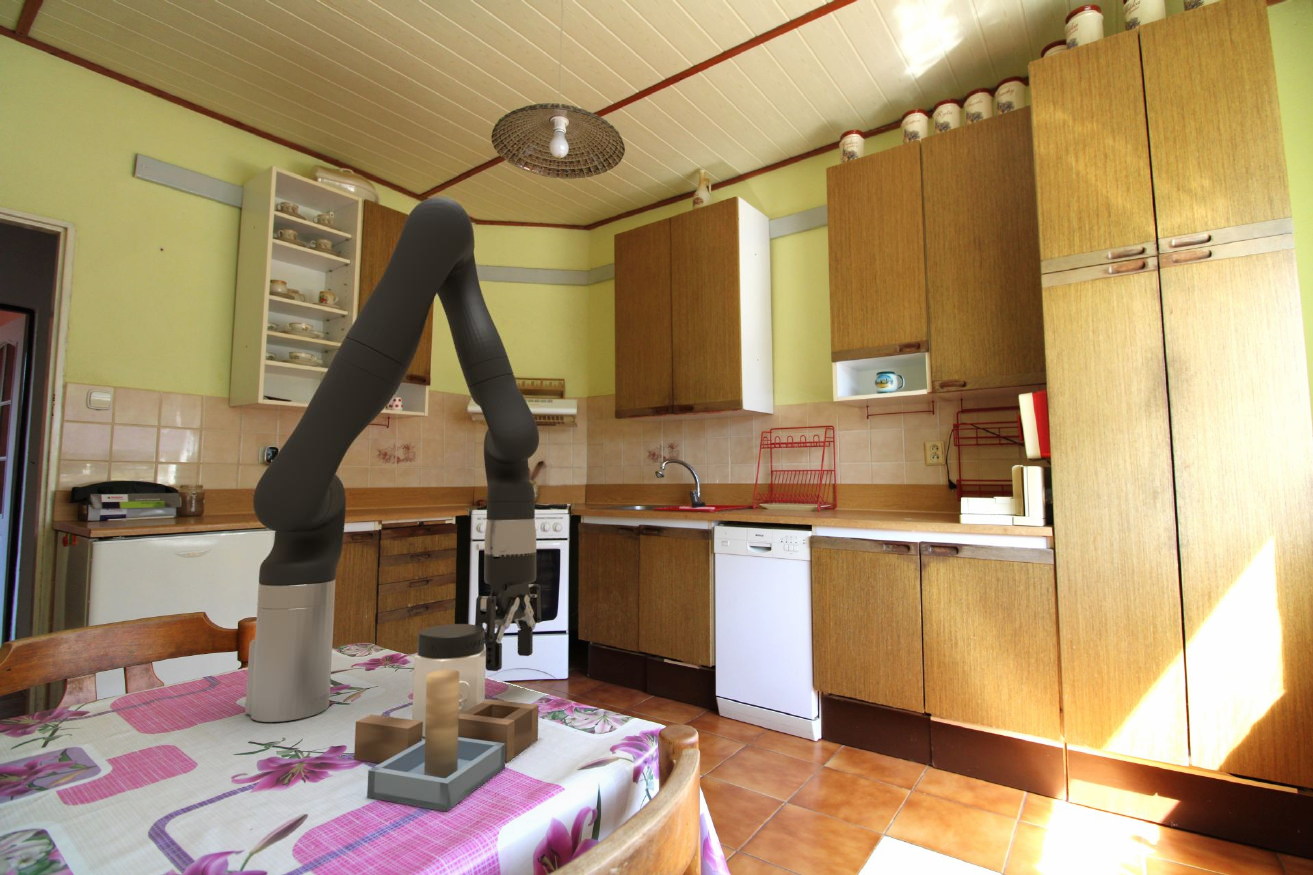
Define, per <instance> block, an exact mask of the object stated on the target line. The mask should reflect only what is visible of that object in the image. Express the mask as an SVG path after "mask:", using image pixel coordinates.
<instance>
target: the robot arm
mask: <svg viewBox="0 0 1313 875" xmlns="http://www.w3.org/2000/svg"><path fill="white" fill-rule="evenodd" d="M469 216H470V215H468V213H467V211H466V210H465V209H464V207H463V206H462V205H461V204H459V203H458V202H457V201H456V200H454V199H452V198H449V197H446V196H445V197H444V196H433V197H430V198H427V199H424V200H422V201H421V202H419V203H418V204H416V205H415V206H414V207H413V208H412V210H411V211H410V212H409V214H408V216H407V218H406V220H405V223H404V225H403V228H402V231H401V233H400V235H399V238H398V241H397V243H396V245H395V248H394V250H393V253H392V255H391V258H390V259H389V262H388V264H387V267H386V268H385V270H384V272H383V274H382V276H381V277H380V280H379V281H378V283H377V285H376V286H375V287H374V288H373V291H371V294H370V295H369V296H368V298H367V300H366V301H365V303H364V305H363V306H362V308H361V310H360V311H359V313H358V315H357V316H356V318H355V320H354V321H353V324H352V325H351V327H350V328H349V330H348V331H347V333H346V335H345V337H344V339H343V341H342V342H341V344H340V345H339V348H338V349H337V350H336V353H335V355H334V357H333V358H332V360H331V362H330V364H329V366H328V369H327V370H326V372H325V374H324V376H323V378H322V379H321V382H320V383H319V385H318V387H317V389H316V391H315V392H314V394H313V396H312V398H311V400H310V401H309V403H308V406H306V409H305V411H304V413H303V415H302V417H301V418H300V420H299V422H298V423H297V425H296V426H295V428H294V430H293V431H292V433H291V434H290V436H289V437H288V439H287V440H286V442H285V443H284V444H283V446H282V447H281V448H280V450H278V453H277V454H276V455H275V457H274V458H273V459H272V461H271V463H270V464H269V465H268V467H267V468H266V470H265V471H264V472H263V474H262V475H261V477H260V479H258V482H257V484H256V487H255V489H254V493H253V498H252V505H253V511H254V514H255V517H256V518H257V520H258V521H259V523H261V524H262V525H263V526H264V527H265V528H267V529H268V530H271V531H275V535H274V542H273V545H272V547H271V550H270V552H269V553H268V555H267V556H266V557H265V559H263V561H262V562H261V563H260V567H259V572H258V591H257V603H256V605H257V608H256V609H257V610H256V621H255V622H256V623H255V625H256V626H255V638H254V639H251V641H250V642H249V645H248V661H247V662H248V663H247V678H246V679H247V680H246V693H245V695H246V697H245V712H244V714H245V715H249V716H250V718H251V719H252V720H254V721H256V722H263V723H264V722H265V723H266V722H267V723H273V722H274V723H275V722H276V723H278V722H287V721H288V722H289V721H294V720H300V719H304V718H307V717H311V716H314V715H317V714H321V713H322V712H325V711H326V710H327V709H328V708H329V706H330V697H331V696H330V695H331V694H330V693H331V675H332V657H333V639H334V638H333V637H334V636H333V635H334V619H335V616H334V615H335V600H336V599H335V594H336V575H337V567H338V564H339V562H340V560H341V557H342V553H343V547H344V534H345V524H346V523H345V521H346V511H347V510H346V509H347V508H346V507H347V503H346V502H347V498H346V490H345V487H344V484H343V482H342V480H341V479H340V477H339V476H338V475H337V472H338V469H339V468H340V465H341V464H342V462H343V459H344V458H345V455H346V454H347V453H348V450H349V449H350V447H351V445H352V444H353V443H354V442H355V441H356V439H357V438H358V437H359V436H360V434H362V433H363V431H364V430H365V429H367V427H368V426H369V425H370V424H372V422H373V421H374V420H375V419H376V418H377V417H378V416H379V415H380V413H382V411H383V410H384V409H386V407H387V406H388V405H389V403H390V402H391V400H392V399H393V397H394V396H395V394H396V393H397V392H398V390H399V387H400V386H401V384H402V382H403V380H404V378H405V376H406V374H407V372H408V371H409V368H410V367H411V366H412V363H413V361H414V358H415V356H416V353H417V350H418V348H419V345H420V343H421V339H422V337H423V333H424V330H425V326H426V322H427V320H428V316H429V312H430V309H431V307H432V304H433V302H434V300H435V297H436V296H438V298H439V301H440V303H441V306H442V308H443V311H444V314H445V318H446V319H447V324H448V327H449V330H450V334H451V338H452V342H453V345H454V350H455V352H456V356H457V359H458V362H459V366H460V368H461V372H462V375H463V378H464V380H465V383H466V386H467V388H468V392H469V395H470V397H471V399H472V400H473V402H474V404H476V405H477V406H479V407H480V410H481V412H482V415H483V418H484V419H485V420H484V421H485V422H486V425H487V430H486V432H485V435H484V440H483V459H484V460H483V462H484V469H485V470H484V471H485V476H486V477H485V478H486V484H487V493H486V494H487V495H486V524H485V531H484V555H483V556H484V561H483V562H484V564H483V565H484V567H483V568H484V570H483V572H484V573H483V574H484V576H483V577H484V578H483V580H484V582H485V584H486V585H489V586H490V587H491V588H490V589H491V590H490V594H489V595H487V596H486V595H478V596H477V598H476V599H475V622H474V625H478V626H481V627H483V628H484V625H486V626H485V628H484V629H485V643H484V647H486V671H489V672H490V671H491V672H498V671H500V670H501V669H502V667H503V643H502V641H503V637H504V635H505V631H506V630H507V629H509V628H510V626H511V624H512V622H515V624H516V626H517V628H518V630H517V654H518V656H521V657H530V656H531V655H533V652H534V651H533V649H534V647H533V646H534V644H533V641H534V638H533V634H534V633H533V631H534V630H535V628H536V624H540V623H541V622H542V601H541V600H542V596H541V595H542V594H541V592H542V591H541V585H540V584H536V583H534V582H536V580H537V529H536V520H535V518H536V517H535V516H536V510H535V509H536V506H535V505H536V502H535V501H536V496H535V489H534V488H535V487H534V485H533V483H532V482H531V481H530V476H529V473H530V470H529V459H530V458H531V457H532V456H533V455H534V454H535V453H536V452H537V450H538V448H539V444H540V433H539V428H538V425H537V422H536V419H535V417H534V414H533V412H532V411H531V409H530V407H529V405H528V403H527V400H526V399H525V397H524V396H523V393H522V392H521V389H519V387H518V384H517V381H516V376H515V375H514V372H513V371H514V370H513V368H512V365H511V363H510V360H509V355H508V353H507V351H506V347H505V346H504V343H503V340H502V337H501V336H500V333H499V331H498V329H497V326H496V325H495V322H494V320H493V318H492V316H491V313H490V311H489V309H488V307H487V304H486V302H485V299H484V295H483V292H482V288H481V286H480V281H479V277H478V276H479V275H478V270H477V263H476V258H475V234H474V233H475V232H474V227H473V224H472V221H471V218H470V217H469ZM532 583H533V584H532ZM496 629H497V630H496Z"/></svg>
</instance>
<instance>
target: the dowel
mask: <svg viewBox="0 0 1313 875" xmlns="http://www.w3.org/2000/svg"><path fill="white" fill-rule="evenodd" d="M458 716H459V672H458V671H456V670H440V671H435V672H431V673H429V674H427V679H426V722H425V737H424V739H425V765H424V775H427V776H433V777H439V778H447V777H448V776H450V775H451V774H453V773H454V772H456V771H457V770H458Z"/></svg>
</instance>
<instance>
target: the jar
mask: <svg viewBox="0 0 1313 875" xmlns="http://www.w3.org/2000/svg"><path fill="white" fill-rule="evenodd" d="M413 658H414V659H413V679H412V680H413V686H412V707H411V708H412V713H411V720H417V721H423V732H422V738H425V722H426V679H427V674H429V673H431V672H435V671H440V670H456V671H458V672H459V714H461V713H463V712H465V711H467V710H469V709H470V708H472V707H474V706H476V705H478V704H480V703H482V702H484V701H485V700H486V697H485V696H486V671H487V669H486V647H485V628H484V626H483V627H481V626H478V625H475V624H469V623H453V624H441V625H434V626H429V627H425V628H423V629H421V630H420V631H419V632H418V634H417V652H416V655H414V657H413Z"/></svg>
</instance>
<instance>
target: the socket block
mask: <svg viewBox="0 0 1313 875" xmlns="http://www.w3.org/2000/svg"><path fill="white" fill-rule="evenodd" d="M539 708H540V707H539V704H533V703H523V702H517V701H516V702H515V701H507V700H498V699H490V698H487V699H485V701H484V702H482V703H480V704H478V705H476V706H474V707H472V708H470V709H469V710H467V711H465V712H463V713H461V714H459V716H458V737H461V738H469V739H476V740H483V741H490V742H498V743H505V764H508V763H509V762H510V761H511V760H513V759H514V758H515V757H517V756H518V755H519V754H521V753H522V752H524V751H525V750H526V749H528V748H529V747H530V746H531V745H533V744H534V743H535V742H537V741H538V740H539Z"/></svg>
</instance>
